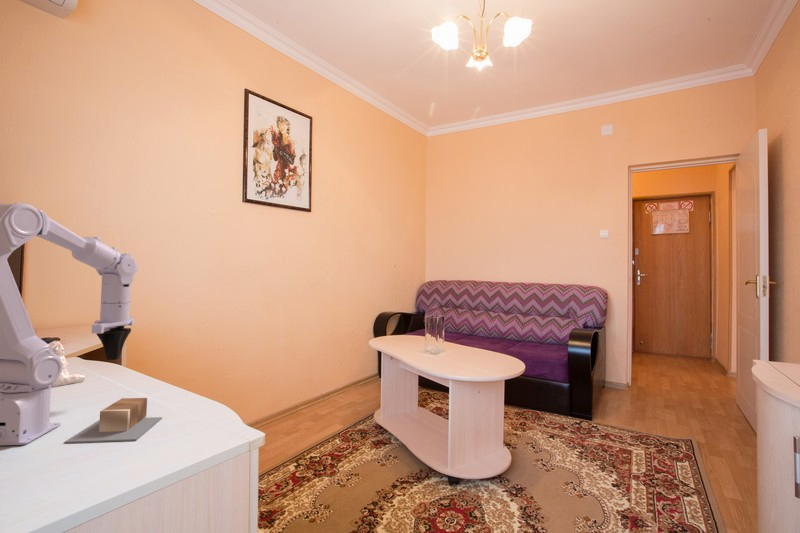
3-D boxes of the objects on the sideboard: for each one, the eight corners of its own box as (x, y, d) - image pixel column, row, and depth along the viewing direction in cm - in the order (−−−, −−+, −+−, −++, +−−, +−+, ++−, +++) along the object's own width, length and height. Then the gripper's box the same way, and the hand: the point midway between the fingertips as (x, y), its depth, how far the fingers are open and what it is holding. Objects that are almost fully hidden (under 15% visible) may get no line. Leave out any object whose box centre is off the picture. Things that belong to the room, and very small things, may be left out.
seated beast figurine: (86, 381, 110) (88, 339, 111) (54, 390, 102) (57, 344, 102) (59, 378, 112) (61, 337, 112) (25, 387, 104) (27, 341, 104)
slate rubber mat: (136, 440, 74) (136, 439, 74) (64, 443, 72) (64, 441, 72) (162, 418, 85) (162, 417, 85) (100, 420, 83) (100, 418, 83)
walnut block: (146, 416, 85) (127, 431, 77) (121, 417, 84) (99, 431, 77) (147, 397, 85) (128, 410, 77) (121, 398, 85) (100, 411, 77)
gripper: (113, 300, 101) (111, 353, 101) (77, 304, 87) (74, 366, 86) (143, 300, 102) (141, 352, 102) (112, 305, 88) (110, 366, 88)
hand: (113, 359), depth 94 cm, fingers closed
